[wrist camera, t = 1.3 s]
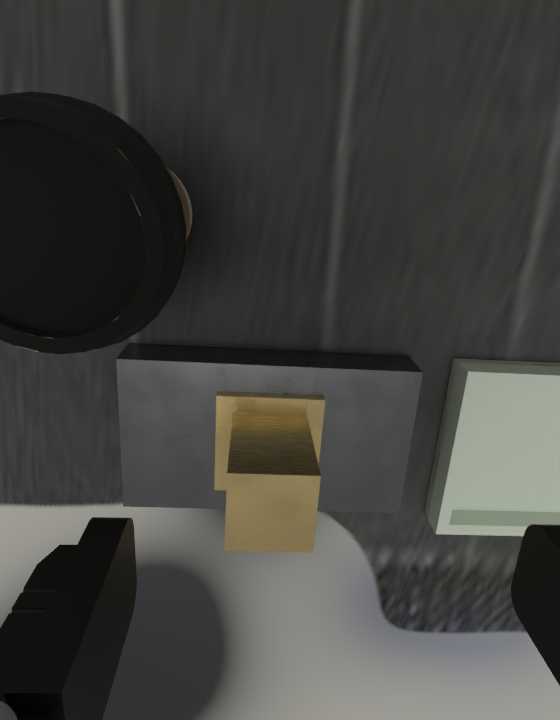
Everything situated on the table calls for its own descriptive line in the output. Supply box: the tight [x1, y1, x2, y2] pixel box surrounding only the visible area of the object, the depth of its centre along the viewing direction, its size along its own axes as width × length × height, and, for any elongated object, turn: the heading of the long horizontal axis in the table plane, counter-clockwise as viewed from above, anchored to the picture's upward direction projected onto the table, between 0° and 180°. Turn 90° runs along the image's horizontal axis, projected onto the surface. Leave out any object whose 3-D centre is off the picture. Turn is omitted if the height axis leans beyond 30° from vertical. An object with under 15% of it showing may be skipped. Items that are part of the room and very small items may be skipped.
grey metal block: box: [116, 343, 423, 513], centre depth 32 cm, size 10×18×3 cm, turn 86°
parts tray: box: [424, 358, 560, 536], centre depth 34 cm, size 12×12×2 cm
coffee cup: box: [0, 92, 192, 354], centre depth 22 cm, size 8×8×15 cm
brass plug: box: [214, 392, 325, 552], centre depth 29 cm, size 6×6×10 cm
